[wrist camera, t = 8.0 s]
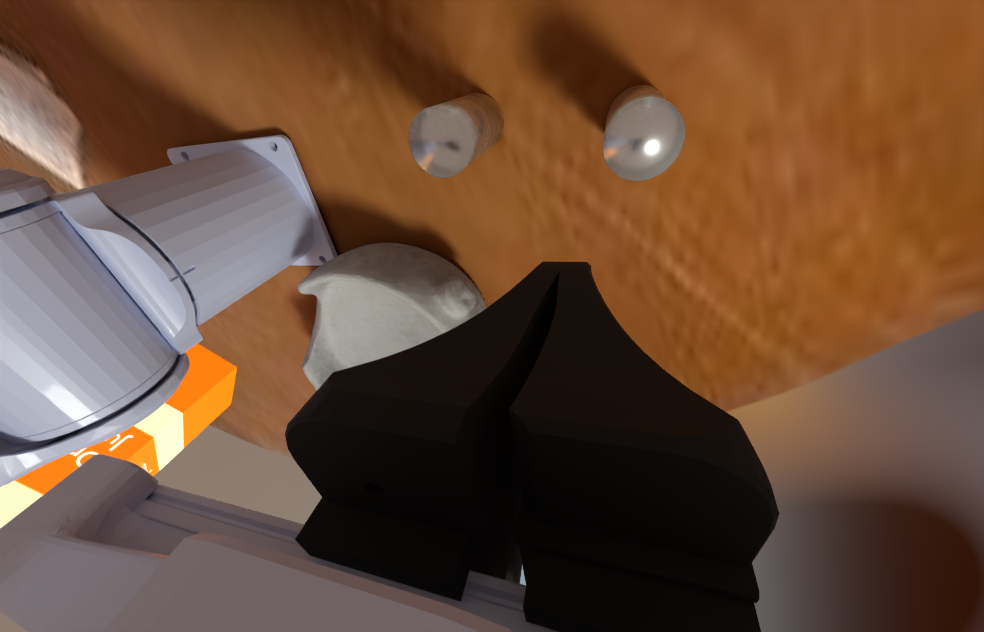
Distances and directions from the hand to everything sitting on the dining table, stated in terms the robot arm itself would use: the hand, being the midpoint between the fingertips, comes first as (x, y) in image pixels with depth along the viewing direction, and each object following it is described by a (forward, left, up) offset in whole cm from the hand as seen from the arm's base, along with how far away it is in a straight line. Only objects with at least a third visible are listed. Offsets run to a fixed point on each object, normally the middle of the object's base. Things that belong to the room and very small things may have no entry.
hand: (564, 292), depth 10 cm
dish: (-12, -9, -10) cm, 18 cm away
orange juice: (-40, -17, -10) cm, 45 cm away
